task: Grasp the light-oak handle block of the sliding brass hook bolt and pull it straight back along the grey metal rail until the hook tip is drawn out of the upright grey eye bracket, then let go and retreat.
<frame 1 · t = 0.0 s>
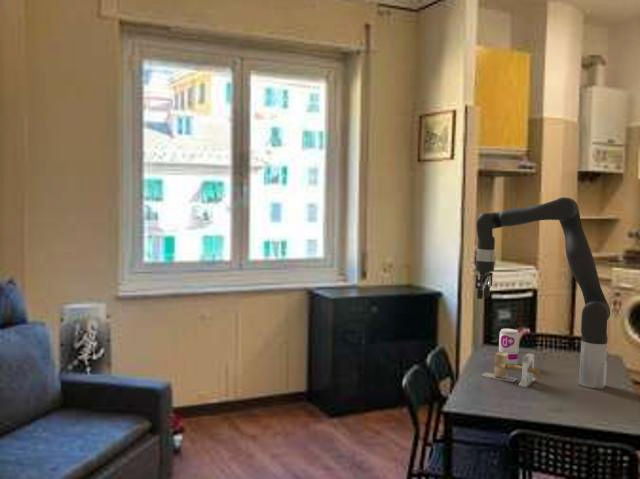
hand: (483, 297, 273), 29 cm above the table, fingers open, 8 cm apart
supplement can: (507, 364, 279), on the table
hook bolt: (517, 367, 252), point 5 cm above the table, slide at 0.0 cm
eye bracket: (527, 383, 251), on the table
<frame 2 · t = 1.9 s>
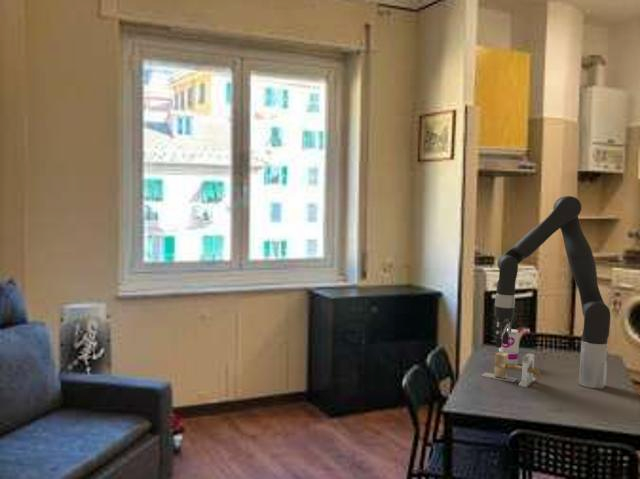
hand: (501, 345, 256), 13 cm above the table, fingers open, 8 cm apart
nothing on the table moved.
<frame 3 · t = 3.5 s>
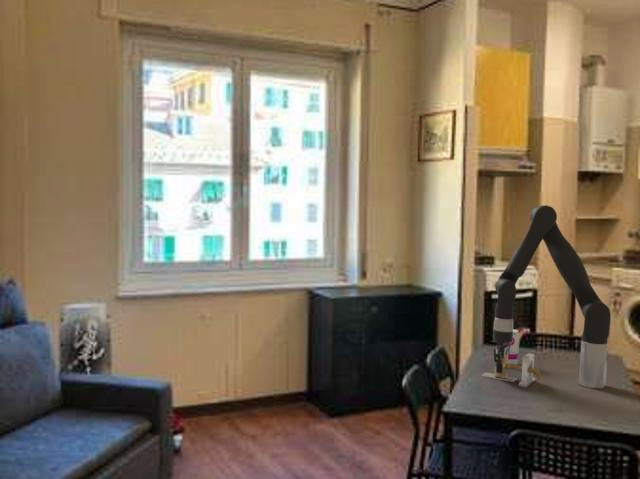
hand: (500, 371, 256), 3 cm above the table, fingers closed on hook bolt, 4 cm apart
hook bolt: (517, 367, 252), point 5 cm above the table, slide at 0.0 cm, touching gripper
everything else where it was.
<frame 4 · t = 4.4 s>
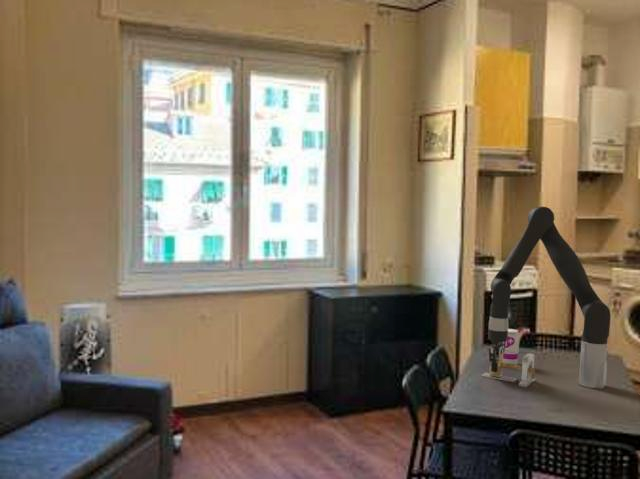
hand: (496, 370, 257), 3 cm above the table, fingers closed on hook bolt, 4 cm apart
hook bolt: (512, 367, 253), point 5 cm above the table, slide at 2.0 cm, touching gripper
everything else where it was.
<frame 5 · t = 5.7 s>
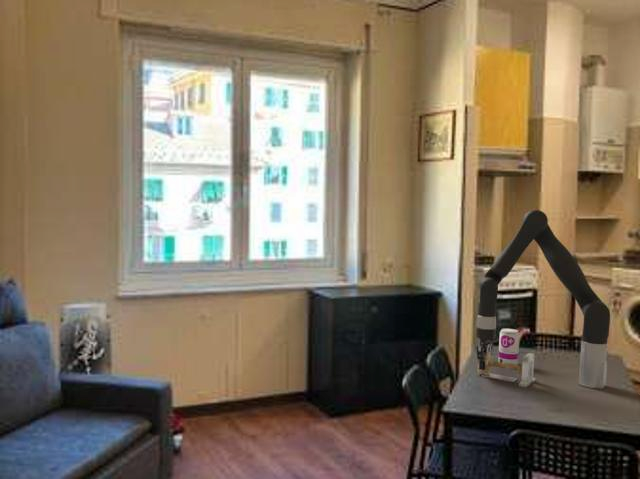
hand: (483, 368, 260), 3 cm above the table, fingers closed on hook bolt, 4 cm apart
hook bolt: (500, 364, 256), point 5 cm above the table, slide at 7.0 cm, touching gripper
everything else where it was.
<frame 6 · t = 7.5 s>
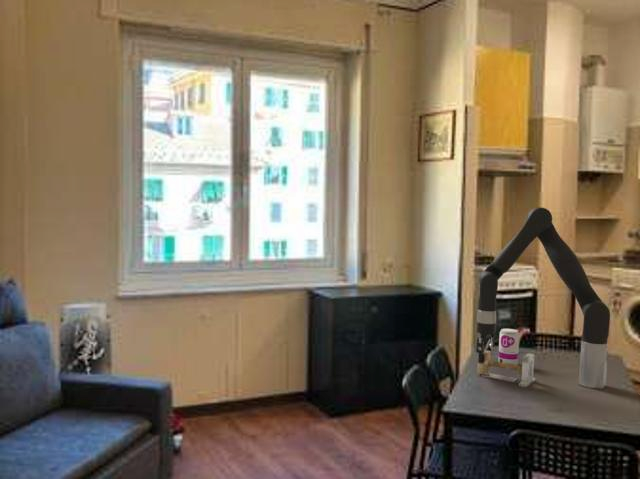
hand: (484, 360, 260), 6 cm above the table, fingers open, 8 cm apart
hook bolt: (500, 364, 256), point 5 cm above the table, slide at 7.0 cm
everything else where it was.
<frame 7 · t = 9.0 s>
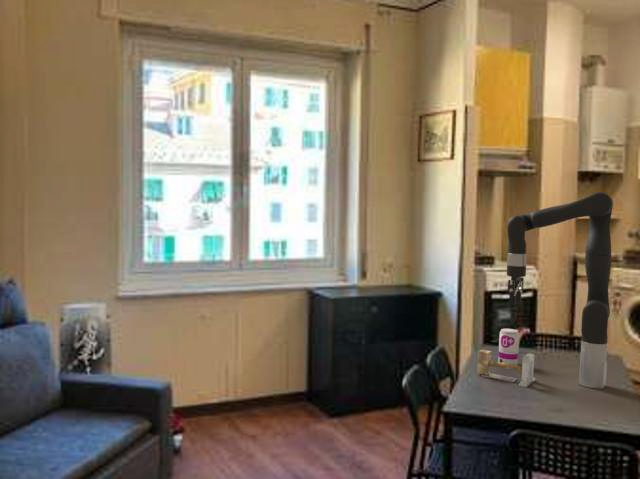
hand: (515, 303, 263), 29 cm above the table, fingers open, 8 cm apart
nothing on the table moved.
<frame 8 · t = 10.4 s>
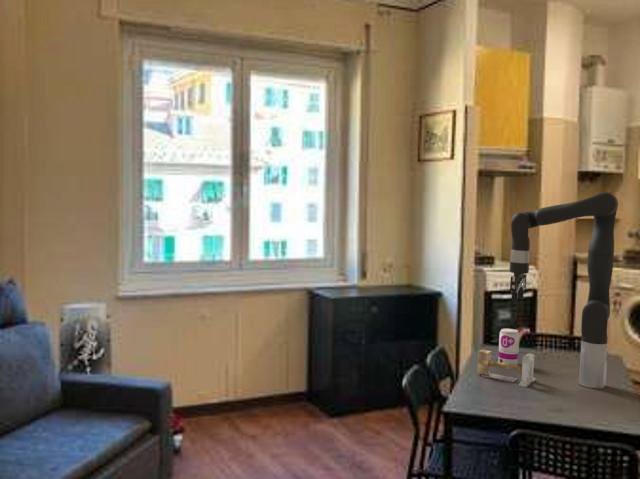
hand: (517, 300, 263), 30 cm above the table, fingers open, 8 cm apart
nothing on the table moved.
at the end: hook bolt slide at 7.0 cm; the gripper is holding nothing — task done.
